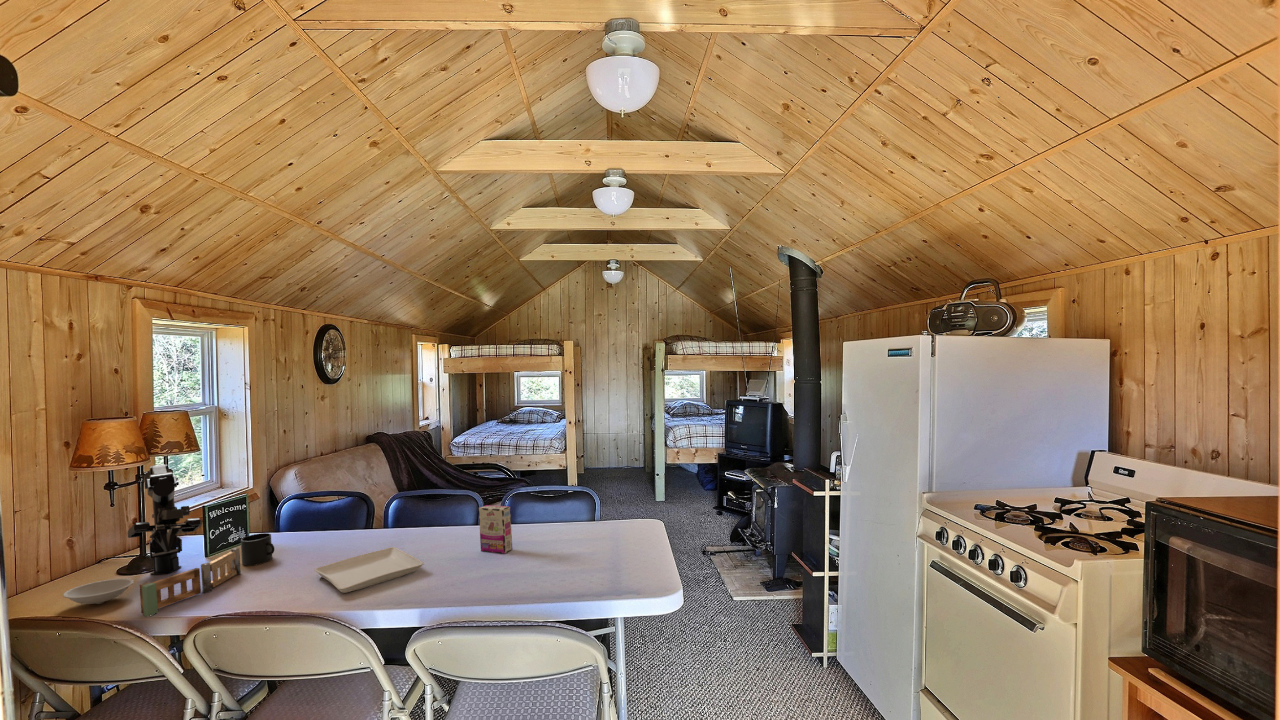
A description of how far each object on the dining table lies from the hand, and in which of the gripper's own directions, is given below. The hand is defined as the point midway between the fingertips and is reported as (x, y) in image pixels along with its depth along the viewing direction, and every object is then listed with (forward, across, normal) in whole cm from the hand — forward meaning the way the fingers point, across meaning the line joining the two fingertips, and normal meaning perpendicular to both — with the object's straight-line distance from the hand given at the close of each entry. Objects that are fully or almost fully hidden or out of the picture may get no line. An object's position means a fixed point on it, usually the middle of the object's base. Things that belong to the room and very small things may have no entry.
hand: (167, 551), depth 192 cm
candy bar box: (+38, +76, -64) cm, 106 cm away
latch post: (+22, -9, -8) cm, 25 cm away
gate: (+19, -3, -7) cm, 20 cm away
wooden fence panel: (+14, +13, -4) cm, 20 cm away
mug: (+6, +30, +4) cm, 30 cm away
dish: (+9, -13, +15) cm, 22 cm away
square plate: (+32, +40, -41) cm, 65 cm away
